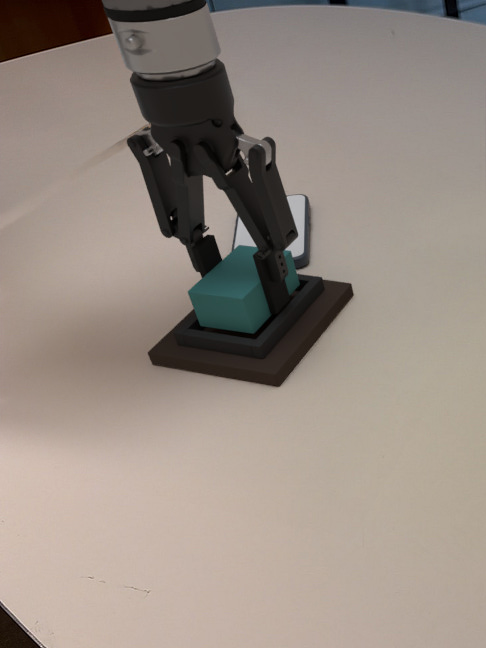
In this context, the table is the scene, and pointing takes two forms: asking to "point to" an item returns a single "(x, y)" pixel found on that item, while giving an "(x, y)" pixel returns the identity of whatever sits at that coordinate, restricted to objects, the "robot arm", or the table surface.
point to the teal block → (236, 292)
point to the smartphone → (302, 221)
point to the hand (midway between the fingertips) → (251, 302)
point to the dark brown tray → (256, 337)
